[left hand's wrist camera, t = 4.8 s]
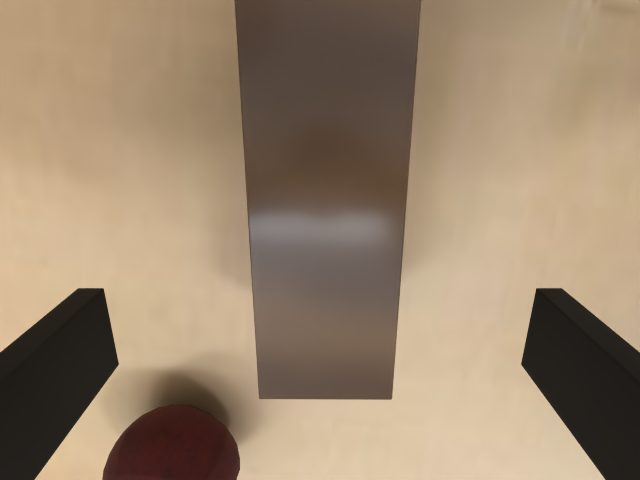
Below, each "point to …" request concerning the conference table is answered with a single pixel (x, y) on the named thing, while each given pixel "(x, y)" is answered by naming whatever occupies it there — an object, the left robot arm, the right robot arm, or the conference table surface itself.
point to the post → (326, 188)
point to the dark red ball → (174, 448)
